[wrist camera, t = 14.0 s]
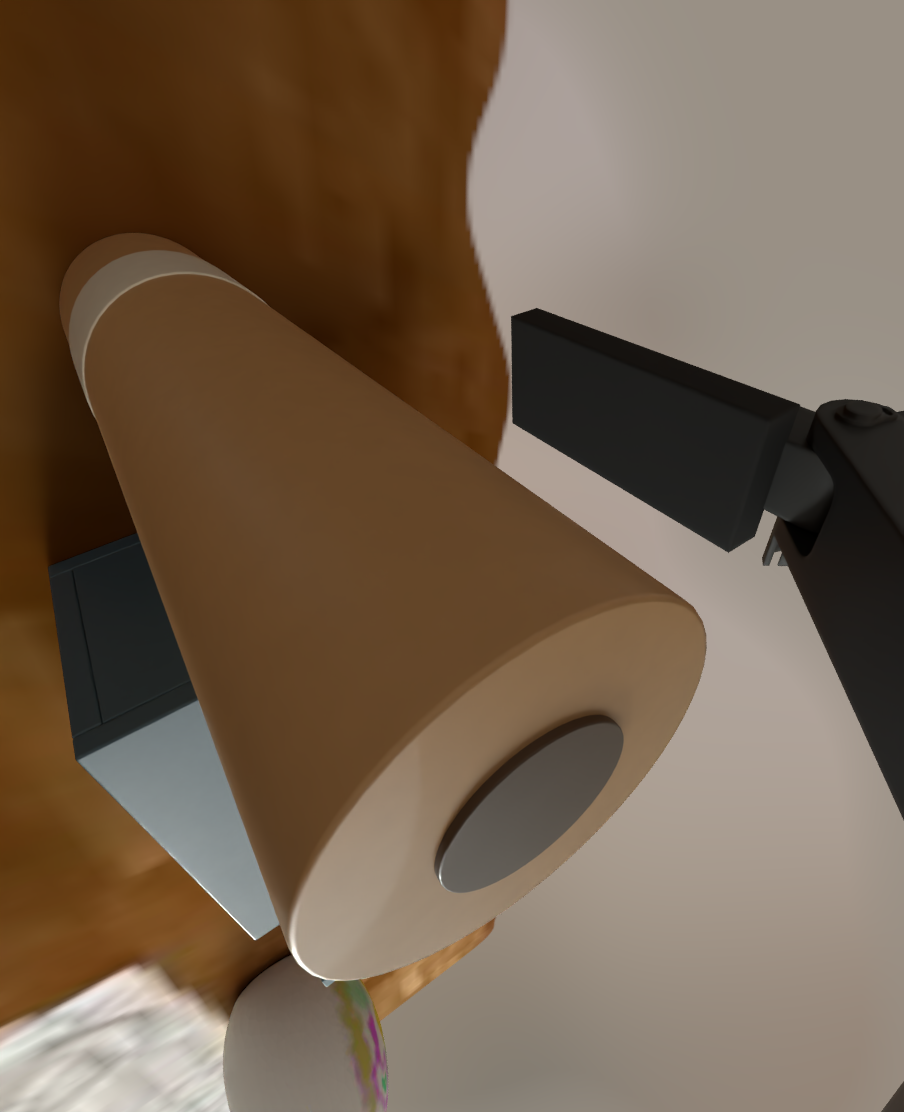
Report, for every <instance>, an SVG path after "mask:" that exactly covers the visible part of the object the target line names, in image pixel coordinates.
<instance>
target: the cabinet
mask: <svg viewBox="0 0 904 1112" xmlns="http://www.w3.org/2000/svg"><path fill="white" fill-rule="evenodd" d="M48 571H49V578H50V586H51V593H52V600H53V606H54V613H55V620H56V627H57V634H58V641H59V648H60V655H61V662H62V669H63V676H64V683H65V690H66V697H67V704H68V711H69V718H70V725H71V732H72V738H73V746H74V753H75V759H76V761H77V762H78V763H79V764H80V765H81V766H82V767H83V768H84V769H85V770H86V771H87V772H88V773H89V774H90V775H91V776H92V777H93V778H94V779H95V780H96V781H97V782H98V783H99V784H100V785H101V786H102V787H103V788H104V789H105V790H106V791H107V792H108V793H109V794H110V795H111V796H112V797H113V798H114V799H115V800H116V801H117V802H118V803H119V804H120V805H121V806H122V807H123V808H124V809H125V810H126V811H127V812H128V813H129V814H130V815H131V816H132V817H133V818H134V819H135V820H136V821H137V822H138V823H139V824H140V825H141V826H142V827H143V828H144V829H145V830H146V831H147V832H148V833H149V834H150V835H151V836H152V837H153V838H154V839H155V840H156V841H157V842H158V843H159V844H160V845H161V846H162V847H163V848H164V849H165V850H166V851H167V852H168V853H169V854H170V855H171V856H172V857H173V858H174V859H175V860H176V861H177V862H178V863H179V864H180V865H181V866H182V867H183V868H184V869H185V870H186V871H187V872H188V873H189V874H190V875H191V876H192V877H193V878H194V879H195V880H196V881H197V882H198V883H199V884H200V885H201V887H202V888H203V889H204V890H205V891H206V892H207V893H208V894H209V895H210V896H211V897H212V898H213V899H214V900H215V901H216V902H217V903H218V904H219V905H220V906H221V907H222V908H223V909H224V910H225V911H226V912H227V913H228V914H229V915H230V916H231V917H232V918H233V919H234V920H235V921H236V922H237V923H238V924H239V925H240V926H241V927H242V928H243V929H244V930H245V931H246V932H247V933H248V934H249V935H250V936H251V937H252V938H253V939H254V940H257V939H259V938H260V937H262V936H263V935H265V934H266V933H268V932H269V931H271V930H272V929H274V928H275V927H277V926H278V925H280V924H279V921H278V918H277V916H276V913H275V910H274V907H273V905H272V902H271V899H270V896H269V894H268V891H267V888H266V885H265V883H264V880H263V877H262V874H261V872H260V869H259V866H258V863H257V861H256V858H255V855H254V852H253V850H252V847H251V844H250V841H249V839H248V836H247V833H246V830H245V828H244V825H243V822H242V819H241V816H240V814H239V811H238V808H237V805H236V803H235V800H234V797H233V794H232V792H231V789H230V786H229V783H228V781H227V778H226V775H225V772H224V770H223V767H222V764H221V761H220V759H219V756H218V753H217V750H216V748H215V745H214V742H213V739H212V737H211V734H210V731H209V728H208V726H207V723H206V720H205V717H204V715H203V712H202V709H201V706H200V704H199V701H198V698H197V695H196V693H195V690H194V687H193V684H192V682H191V679H190V676H189V673H188V671H187V668H186V665H185V662H184V660H183V657H182V654H181V651H180V649H179V646H178V643H177V640H176V638H175V635H174V632H173V629H172V627H171V624H170V621H169V618H168V616H167V613H166V610H165V607H164V605H163V602H162V599H161V596H160V594H159V591H158V588H157V585H156V583H155V580H154V577H153V574H152V572H151V569H150V566H149V563H148V561H147V558H146V555H145V552H144V550H143V547H142V544H141V541H140V539H139V536H138V533H135V534H133V535H130V536H127V537H125V538H122V539H120V540H117V541H114V542H112V543H109V544H106V545H104V546H101V547H99V548H96V549H93V550H91V551H88V552H85V553H83V554H80V555H77V556H75V557H72V558H70V559H67V560H64V561H62V562H59V563H56V564H54V565H51V566H49V567H48Z"/></svg>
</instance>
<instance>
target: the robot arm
mask: <svg viewBox="0 0 904 1112" xmlns="http://www.w3.org/2000/svg"><path fill="white" fill-rule="evenodd" d="M511 329H512V331H511V335H512V417H513V424H515V425H517V426H518V427H520V428H522V429H523V430H525V431H527V432H528V433H530V434H532V435H533V436H535V437H537V438H538V439H540V440H542V441H543V442H545V443H547V444H548V445H550V446H552V447H554V448H555V449H557V450H558V451H560V452H562V453H563V454H565V455H567V456H568V457H570V458H572V459H573V460H575V461H577V462H578V463H580V464H582V465H583V466H585V467H587V468H588V469H590V470H592V471H593V472H595V473H597V474H599V475H600V476H602V477H603V478H605V479H607V480H608V481H610V482H612V483H613V484H615V485H617V486H618V487H620V488H622V489H623V490H625V491H627V492H628V493H630V494H632V495H633V496H635V497H637V498H639V499H640V500H642V501H644V502H645V503H647V504H648V505H650V506H652V507H653V508H655V509H657V510H658V511H660V512H662V513H664V514H665V515H667V516H669V517H670V518H672V519H673V520H675V521H677V522H678V523H680V524H682V525H683V526H685V527H687V528H688V529H690V530H692V531H693V532H695V533H697V534H698V535H700V536H702V537H703V538H705V539H707V540H708V541H710V542H712V543H713V544H715V545H717V546H718V547H720V548H722V549H723V550H725V551H727V552H728V553H729V552H730V551H732V550H733V549H735V548H737V547H738V546H740V545H741V544H743V543H745V542H746V541H748V540H750V539H751V538H753V537H754V536H755V534H756V531H757V528H758V525H759V523H760V520H761V517H762V513H763V511H764V510H766V511H768V512H770V513H772V514H774V515H776V516H777V519H776V522H775V524H774V528H773V530H772V533H771V536H770V538H769V541H768V543H767V546H766V549H765V552H764V554H763V557H762V560H763V565H764V566H765V565H766V566H769V564H770V562H771V559H772V557H773V554H774V552H778V551H781V552H782V554H781V557H780V560H779V562H778V566H788V567H789V569H790V571H791V574H792V575H793V578H794V580H795V582H796V584H797V587H798V589H799V591H800V593H801V595H802V597H803V600H804V602H805V604H806V606H807V609H808V611H809V613H810V615H811V617H812V620H813V622H814V624H815V626H816V628H817V631H818V633H819V635H820V637H821V639H822V642H823V644H824V646H825V648H826V650H827V653H828V655H829V657H830V659H831V661H832V664H833V666H834V668H835V670H836V672H837V674H838V677H839V679H840V681H841V683H842V685H843V688H844V690H845V692H846V694H847V696H848V699H849V701H850V703H851V705H852V707H853V710H854V712H855V714H856V716H857V718H858V721H859V723H860V725H861V727H862V729H863V732H864V734H865V736H866V738H867V740H868V742H869V745H870V747H871V749H872V751H873V754H874V756H875V758H876V760H877V762H878V765H879V767H880V769H881V771H882V773H883V776H884V778H885V780H886V782H887V784H888V786H889V789H890V791H891V793H892V795H893V798H894V800H895V802H896V804H897V806H898V808H899V811H900V813H901V815H902V817H903V819H904V411H900V412H896V411H894V410H893V409H891V408H890V407H887V406H883V405H880V404H877V403H871V402H867V401H863V400H848V399H844V400H835V401H829V402H827V403H824V404H822V405H820V407H819V408H818V409H817V410H816V412H814V411H811V410H808V409H806V408H803V407H800V405H799V404H797V403H794V402H792V401H789V400H786V399H783V398H780V397H778V396H775V395H773V394H770V393H767V392H764V391H762V390H759V389H756V388H753V387H751V386H748V385H745V384H742V383H740V382H737V381H734V380H732V379H728V378H726V377H723V376H721V375H718V374H715V373H712V372H710V371H707V370H704V369H702V368H699V367H696V366H693V365H690V364H688V363H685V362H683V361H680V360H677V359H674V358H672V357H669V356H666V355H664V354H661V353H658V352H655V351H653V350H650V349H647V348H644V347H642V346H639V345H636V344H634V343H631V342H628V341H625V340H622V339H620V338H617V337H614V336H612V335H609V334H606V333H604V332H601V331H598V330H595V329H592V328H590V327H587V326H584V325H582V324H579V323H576V322H574V321H571V320H568V319H565V318H563V317H559V316H557V315H554V314H552V313H549V312H546V311H544V310H541V309H538V308H536V309H533V310H530V311H526V312H523V313H520V314H517V315H514V316H511ZM882 1112H904V1082H903V1083H902V1084H901V1086H900V1087H899V1088H898V1090H897V1091H896V1093H895V1094H894V1095H893V1097H892V1098H891V1099H890V1101H889V1102H888V1103H887V1105H886V1106H885V1107H884V1109H883V1110H882Z"/></svg>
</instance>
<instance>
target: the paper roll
mask: <svg viewBox="0 0 904 1112" xmlns="http://www.w3.org/2000/svg"><path fill="white" fill-rule="evenodd" d="M59 310H60V317H61V322H62V326H63V329H64V332H65V335H66V338H67V341H68V343H69V346H70V352H71V355H72V359H73V362H74V366H75V369H76V371H77V374H78V377H79V380H80V383H81V386H82V388H83V391H84V394H85V397H86V400H87V402H88V404H89V407H90V409H91V411H92V414H93V416H94V417H95V419H96V420H97V423H98V426H99V429H100V431H101V434H102V437H103V440H104V442H105V445H106V448H107V451H108V453H109V456H110V459H111V462H112V464H113V467H114V470H115V473H116V475H117V478H118V481H119V484H120V486H121V489H122V492H123V495H124V497H125V500H126V503H127V506H128V508H129V511H130V514H131V517H132V519H133V522H134V525H135V528H136V530H137V533H138V536H139V539H140V541H141V544H142V547H143V550H144V552H145V555H146V558H147V561H148V563H149V566H150V569H151V572H152V574H153V577H154V580H155V583H156V585H157V588H158V591H159V594H160V596H161V599H162V602H163V605H164V607H165V610H166V613H167V616H168V618H169V621H170V624H171V627H172V629H173V632H174V635H175V638H176V640H177V643H178V646H179V649H180V651H181V654H182V657H183V660H184V662H185V665H186V668H187V671H188V673H189V676H190V679H191V682H192V684H193V687H194V690H195V693H196V695H197V698H198V701H199V704H200V706H201V709H202V712H203V715H204V717H205V720H206V723H207V726H208V728H209V731H210V734H211V737H212V739H213V742H214V745H215V748H216V750H217V753H218V756H219V759H220V761H221V764H222V767H223V770H224V772H225V775H226V778H227V781H228V783H229V786H230V789H231V792H232V794H233V797H234V800H235V803H236V805H237V808H238V811H239V814H240V816H241V819H242V822H243V825H244V828H245V830H246V833H247V836H248V839H249V841H250V844H251V847H252V850H253V852H254V855H255V858H256V861H257V863H258V866H259V869H260V872H261V874H262V877H263V880H264V883H265V885H266V888H267V891H268V894H269V896H270V899H271V902H272V905H273V907H274V910H275V913H276V916H277V918H278V921H279V924H280V927H281V929H282V932H283V935H284V938H285V940H286V943H287V946H288V949H289V950H290V952H291V954H292V956H293V957H294V959H295V961H296V962H297V963H298V964H299V965H300V966H301V967H302V968H303V969H305V970H306V971H307V972H309V973H310V974H311V975H313V976H316V977H319V978H322V979H325V980H336V981H348V980H357V979H364V978H368V977H373V976H377V975H381V974H384V973H387V972H390V971H393V970H396V969H399V968H402V967H405V966H407V965H409V964H412V963H414V962H416V961H419V960H421V959H423V958H426V957H428V956H430V955H432V954H434V953H436V952H438V951H440V950H442V949H444V948H446V947H448V946H449V945H451V944H453V943H455V942H456V941H458V940H460V939H462V938H463V937H465V936H467V935H469V934H470V933H472V932H473V931H475V930H476V929H478V928H480V927H481V926H483V925H484V924H486V923H487V922H489V921H490V920H492V919H493V918H495V917H496V916H498V915H499V914H500V913H502V912H503V911H505V910H506V909H507V908H509V907H510V906H512V905H513V904H514V903H516V902H517V901H518V900H519V899H521V898H522V897H524V896H525V895H526V894H528V893H529V892H530V891H531V890H533V889H534V888H535V887H536V886H537V885H538V884H540V883H541V882H542V881H544V880H545V879H546V878H547V877H548V876H550V875H551V874H552V873H553V872H554V871H555V870H557V868H559V867H560V866H561V865H562V864H563V863H564V862H565V861H567V860H568V859H569V858H570V857H571V856H572V855H573V854H574V853H575V852H576V851H577V850H578V849H580V848H581V846H583V845H584V844H585V843H586V842H587V841H588V840H589V839H590V838H591V837H592V836H593V835H594V834H595V833H596V832H597V831H598V830H599V829H600V828H601V827H602V826H603V824H604V823H605V822H606V821H607V820H608V819H609V818H610V817H611V816H612V815H613V814H614V813H615V812H616V810H617V809H618V808H619V807H620V806H621V805H622V804H623V803H624V801H625V800H626V799H627V798H628V797H629V795H630V794H631V793H632V792H633V791H634V790H635V788H636V787H637V786H638V785H639V783H640V782H641V781H642V779H643V778H644V777H645V776H646V774H647V773H648V772H649V770H650V769H651V768H652V766H653V765H654V763H655V762H656V761H657V759H658V758H659V756H660V755H661V754H662V752H663V751H664V749H665V747H666V746H667V744H668V743H669V741H670V740H671V738H672V737H673V735H674V733H675V732H676V730H677V728H678V726H679V724H680V723H681V721H682V719H683V717H684V715H685V713H686V711H687V709H688V707H689V705H690V703H691V701H692V699H693V696H694V693H695V691H696V689H697V686H698V684H699V681H700V677H701V674H702V670H703V667H704V662H705V655H706V633H705V628H704V625H703V622H702V620H701V618H700V617H699V615H698V613H697V612H696V610H695V609H694V607H693V606H692V605H690V604H689V603H688V602H687V601H685V600H684V599H683V598H681V597H680V596H678V595H677V594H675V593H674V592H673V591H671V590H670V589H669V588H667V587H666V586H664V585H663V584H662V583H660V582H659V581H657V580H656V579H654V578H653V577H652V576H650V575H649V574H647V573H646V572H644V571H643V570H642V569H640V568H639V567H637V566H636V565H635V564H633V563H632V562H630V561H629V560H627V559H626V558H625V557H623V556H622V555H620V554H619V553H618V552H616V551H615V550H613V549H612V548H611V547H609V546H608V545H606V544H605V543H603V542H602V541H601V540H599V539H598V538H596V537H595V536H594V535H592V534H591V533H589V532H588V531H586V530H585V529H583V528H582V527H581V526H579V525H578V524H577V523H575V522H573V521H572V520H571V519H569V518H568V517H567V516H565V515H564V514H562V513H561V512H560V511H558V510H557V509H555V508H554V507H552V506H551V505H550V504H548V503H547V502H545V501H544V500H543V499H541V498H540V497H538V496H537V495H535V494H534V493H533V492H531V491H530V490H528V489H527V488H526V487H524V486H523V485H521V484H520V483H518V482H517V481H515V480H514V479H513V478H511V477H510V476H509V475H507V474H506V473H504V472H503V471H502V470H500V469H499V468H497V467H496V466H494V465H493V464H492V463H490V462H489V461H487V460H486V459H485V458H483V457H482V456H480V455H479V454H477V453H476V452H475V451H473V450H472V449H470V448H469V447H468V446H466V445H465V444H463V443H462V442H460V441H459V440H458V439H456V438H455V437H453V436H452V435H451V434H449V433H448V432H446V431H445V430H443V429H442V428H441V427H439V426H438V425H436V424H435V423H434V422H432V421H431V420H429V419H428V418H426V417H425V416H424V415H422V414H421V413H419V412H418V411H417V410H415V409H414V408H412V407H411V406H409V405H408V404H407V403H405V402H404V401H402V400H401V399H400V398H398V397H397V396H395V395H394V394H392V393H391V392H390V391H388V390H387V389H385V388H384V387H383V386H381V385H380V384H378V383H377V382H375V381H374V380H373V379H371V378H370V377H368V376H367V375H366V374H364V373H363V372H361V371H360V370H358V369H357V368H356V367H354V366H353V365H351V364H350V363H349V362H347V361H346V360H344V359H343V358H341V357H340V356H339V355H337V354H336V353H334V352H333V351H332V350H330V349H329V348H327V347H326V346H324V345H323V344H322V343H320V342H319V341H317V340H316V339H315V338H313V337H312V336H310V335H309V334H307V333H306V332H305V331H303V330H302V329H300V328H299V327H298V326H296V325H295V324H293V323H292V322H290V321H289V320H288V319H286V318H285V317H283V316H282V315H281V314H279V313H278V312H276V311H275V310H273V309H272V308H271V307H269V306H268V305H267V304H266V303H265V302H264V301H263V300H262V299H261V298H260V297H258V296H257V295H255V294H254V293H253V292H251V291H250V290H249V289H247V288H246V287H244V286H243V285H241V284H240V283H239V282H237V281H236V280H234V279H233V278H231V277H230V276H229V275H227V274H226V273H224V272H223V271H221V270H220V269H219V268H217V267H215V266H213V265H211V264H210V263H208V262H206V261H204V260H203V259H201V258H200V257H198V256H197V255H196V254H194V253H193V252H191V251H190V250H189V249H187V248H185V247H183V246H182V245H180V244H178V243H176V242H173V241H171V240H169V239H166V238H163V237H160V236H156V235H151V234H145V233H124V234H117V235H113V236H109V237H106V238H103V239H101V240H99V241H96V242H95V243H93V244H92V245H90V246H88V247H87V248H85V249H84V250H83V251H82V252H81V253H80V254H79V255H78V256H77V257H76V258H75V260H74V261H73V262H72V263H71V265H70V266H69V268H68V270H67V272H66V274H65V276H64V279H63V282H62V285H61V290H60V296H59Z"/></svg>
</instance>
